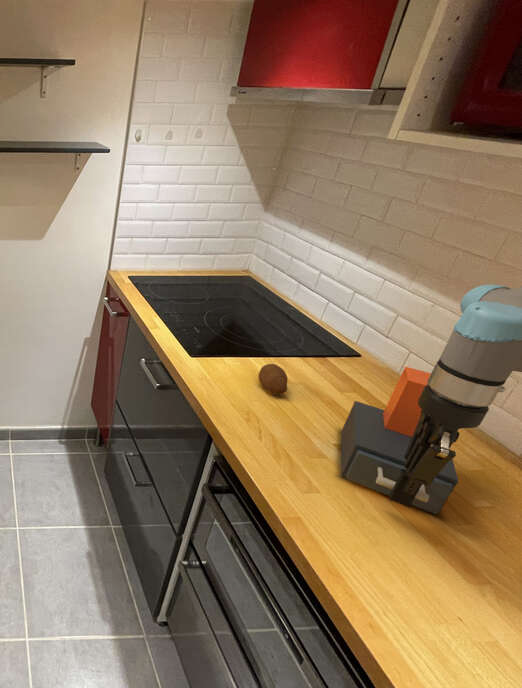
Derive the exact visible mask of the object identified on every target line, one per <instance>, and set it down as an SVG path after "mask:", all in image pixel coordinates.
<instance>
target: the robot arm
mask: <svg viewBox="0 0 522 688" xmlns="http://www.w3.org/2000/svg"><path fill="white" fill-rule="evenodd" d="M459 307H460V312H461V315H460V317H459V318H458V320H457V322H456V323H455V324H453V325H454V326H453V329H452V332H451V334H450V336H449V338H448V340H447V343H446V345H445V347H444V348H443V351H442V353H441V355H440V357H439V359H438V360H437V361H436V363H435V365H434V367H433V369H432V371H431V372H430V373H431V375H430V377H429V379H428V381H427V383H428V385H426V386H425V387H424V389H423V391H422V393H421V395H420V397H419V399H418V405H419V407H420V408H421V409H422V410H421V414H420V418H419V421H418V424H417V426H416V429H415V431H414V434H413V436H412V438H411V441H410V443H409V446H408V448H407V451H406V453H405V454H404V458H405V459H407V460H406V462H405V463H404V467H405V468H406V469H402V468H401V470H400V476H399V478H398V480H397V482H396V484H395V485H394V487H393V489H392V491H391V493H390V495H389V496H388V497H389V500H390V501H392V502H394V503H396V504H400V505H402V506H404V507H407V508H410V507H411V506H412V505H411V503H412V502H413V500H414V498H415V496H416V494H417V493H418V491H419V489H420V487H421V486H422V484H423V485H425V486H429V485H430V484H431V483H432V481H433V480H434V479H435V478H436V476H437V475H438V474H439V473H440V471H441V470H442V469H443V468H444V466H445V465H446V464H447V463H448V462H449V461H450V460H452V459H455V457H456V455H457V454H456V453H457V452H456V451H455V450H453V449H451V447H452V445H453V444H454V443H457V441H458V440H459V437H460V432H459V430H461V429H475V428H478V427H480V425H481V424H482V422H483V420H484V419H485V417H486V415H487V414H488V412H489V410H490V409H489V408H490V407H489V406H491V405H492V404H493V403H494V401H495V399H496V398H497V395H498V394H499V393H504V392H505V391H506V388H505V386H504V385H505V384H506V382H507V380H508V378H509V377H510V376H511V375H512V373H513V372H519V373H522V286H518V287H515V288H510V287H508V286H503V285H501V284H483V285H478V286H476V287H474V288H472V289H470V290H469V291H467V292H466V294H464V296H463V297H462V298H461V300H460V304H459ZM449 449H450V450H449Z"/></svg>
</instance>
